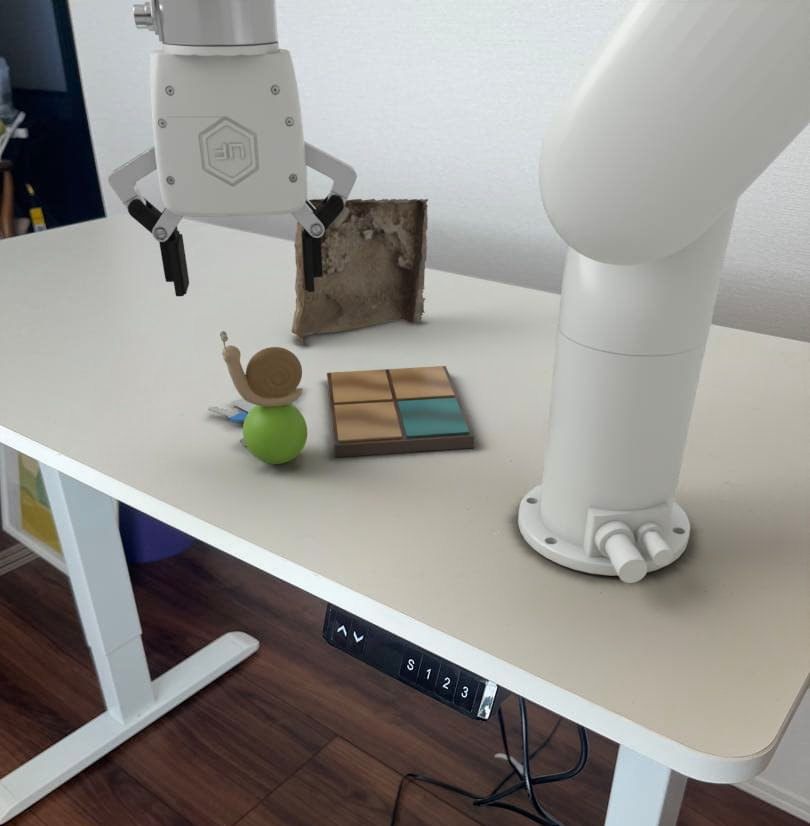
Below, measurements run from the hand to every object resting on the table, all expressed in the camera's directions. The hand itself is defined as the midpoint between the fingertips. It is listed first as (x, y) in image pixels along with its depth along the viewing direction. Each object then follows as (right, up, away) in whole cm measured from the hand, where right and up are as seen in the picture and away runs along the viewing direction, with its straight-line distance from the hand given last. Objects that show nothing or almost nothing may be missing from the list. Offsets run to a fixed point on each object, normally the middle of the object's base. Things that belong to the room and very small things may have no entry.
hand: (246, 288), depth 63 cm
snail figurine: (+1, -13, +8) cm, 15 cm away
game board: (+11, -7, +16) cm, 21 cm away
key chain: (-3, -8, +15) cm, 17 cm away
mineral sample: (+7, +6, +35) cm, 36 cm away
